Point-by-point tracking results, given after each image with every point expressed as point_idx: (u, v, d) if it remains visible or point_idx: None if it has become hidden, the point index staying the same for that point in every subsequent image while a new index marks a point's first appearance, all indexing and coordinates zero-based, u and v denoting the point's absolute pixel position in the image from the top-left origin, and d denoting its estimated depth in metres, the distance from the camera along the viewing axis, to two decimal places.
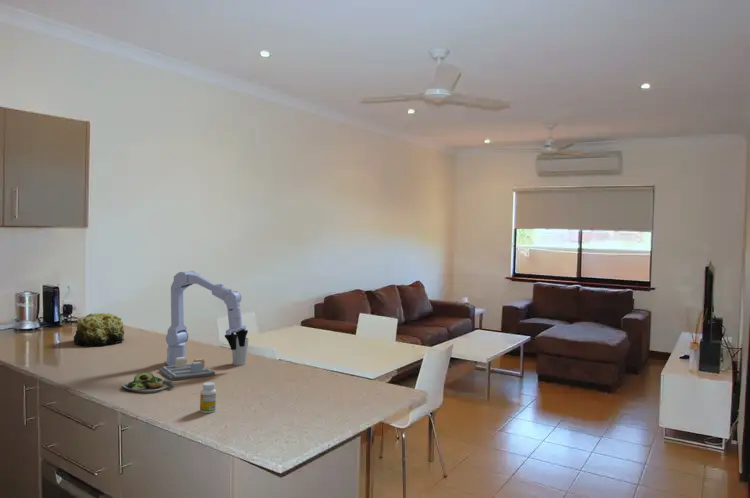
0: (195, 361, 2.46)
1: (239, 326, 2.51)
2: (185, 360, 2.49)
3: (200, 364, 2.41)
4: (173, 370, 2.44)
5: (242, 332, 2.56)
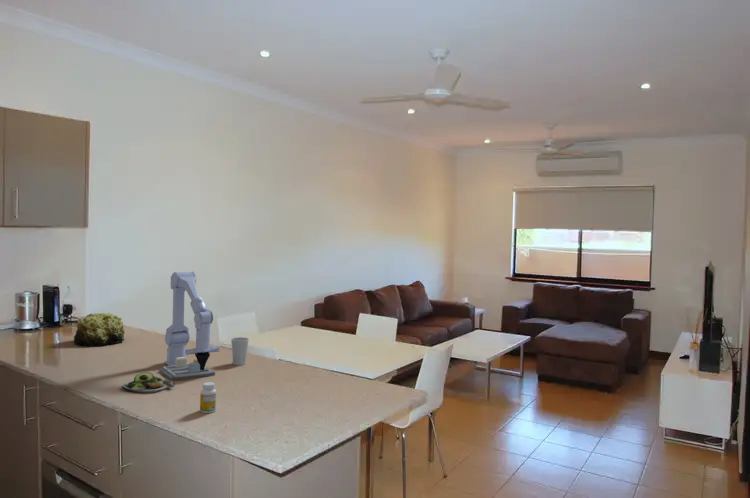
0: (195, 361, 2.46)
1: (202, 348, 2.40)
2: (185, 360, 2.49)
3: (197, 364, 2.41)
4: (173, 370, 2.44)
5: None
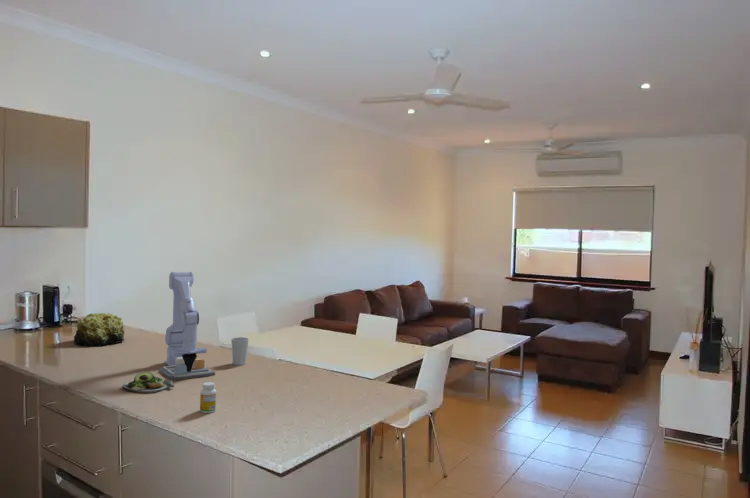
0: (195, 361, 2.46)
1: (188, 349, 2.37)
2: None
3: (184, 366, 2.37)
4: (173, 370, 2.44)
5: (190, 356, 2.39)
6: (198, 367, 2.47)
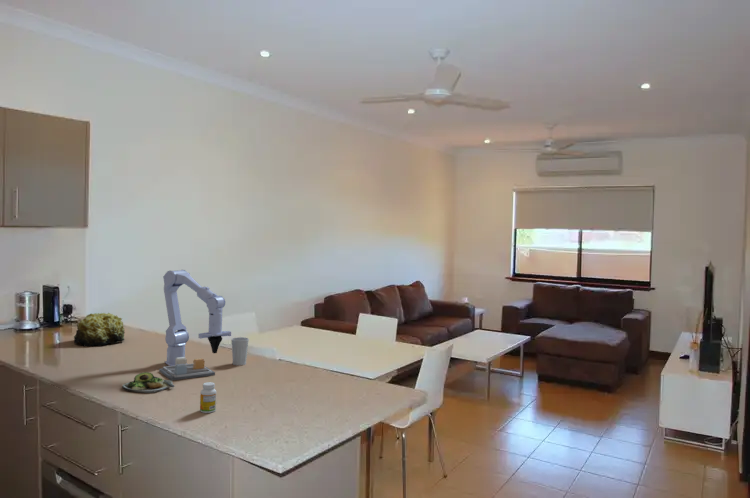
0: (195, 361, 2.46)
1: (214, 332, 2.49)
2: (185, 360, 2.49)
3: (184, 366, 2.37)
4: (173, 370, 2.44)
5: (216, 339, 2.51)
6: (198, 367, 2.47)
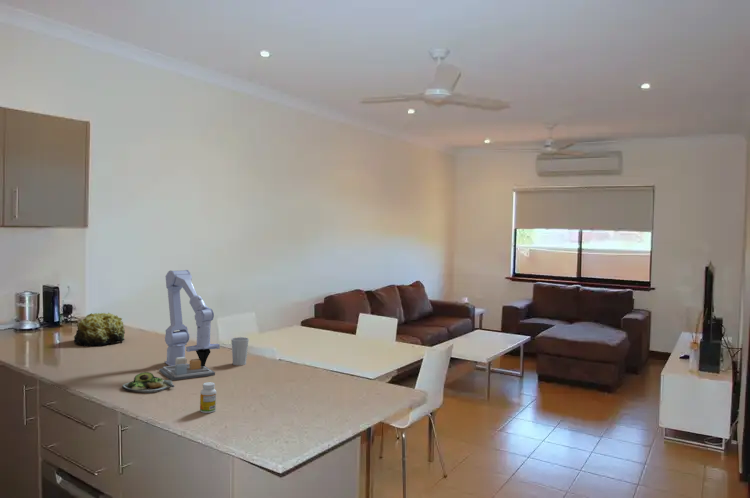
0: (191, 361, 2.45)
1: (202, 345, 2.46)
2: (185, 360, 2.49)
3: (184, 366, 2.37)
4: (173, 370, 2.44)
5: None
6: (194, 367, 2.46)
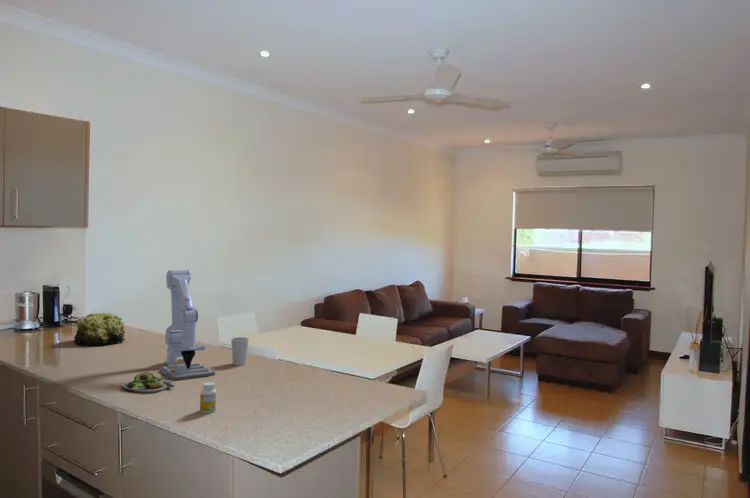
0: (176, 363, 2.41)
1: (187, 346, 2.42)
2: None
3: (184, 366, 2.37)
4: (173, 370, 2.44)
5: None
6: None
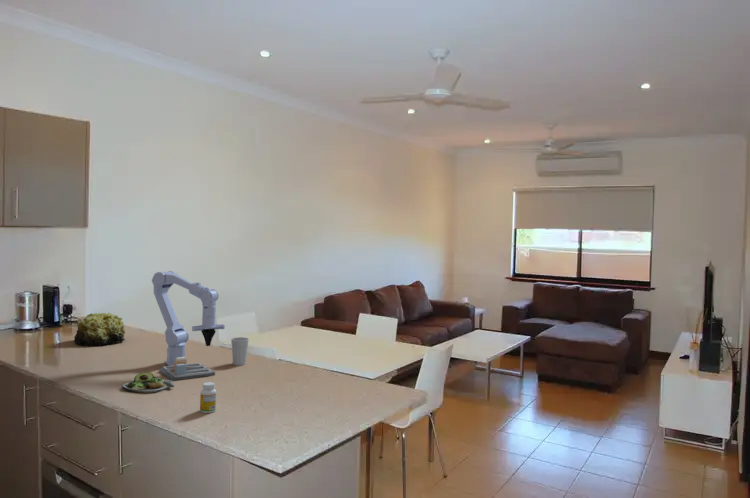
0: (176, 363, 2.41)
1: (208, 325, 2.53)
2: (185, 360, 2.49)
3: (184, 366, 2.37)
4: (173, 370, 2.44)
5: None
6: None
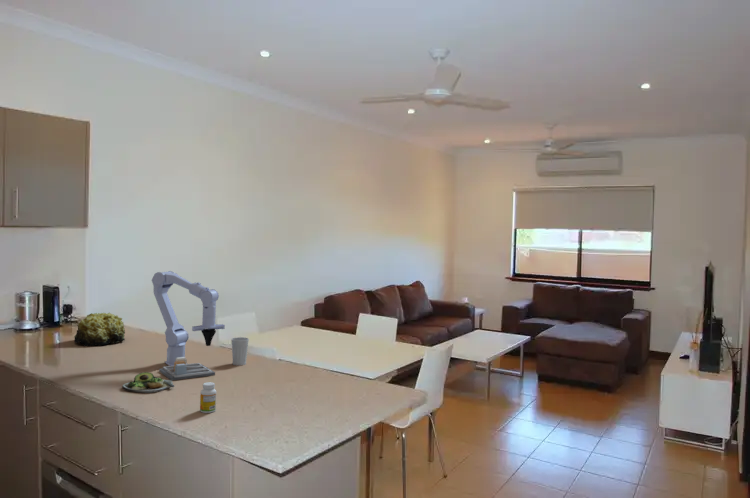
0: (176, 363, 2.41)
1: (208, 325, 2.53)
2: (185, 360, 2.49)
3: (184, 366, 2.37)
4: (173, 370, 2.44)
5: (209, 331, 2.55)
6: None
